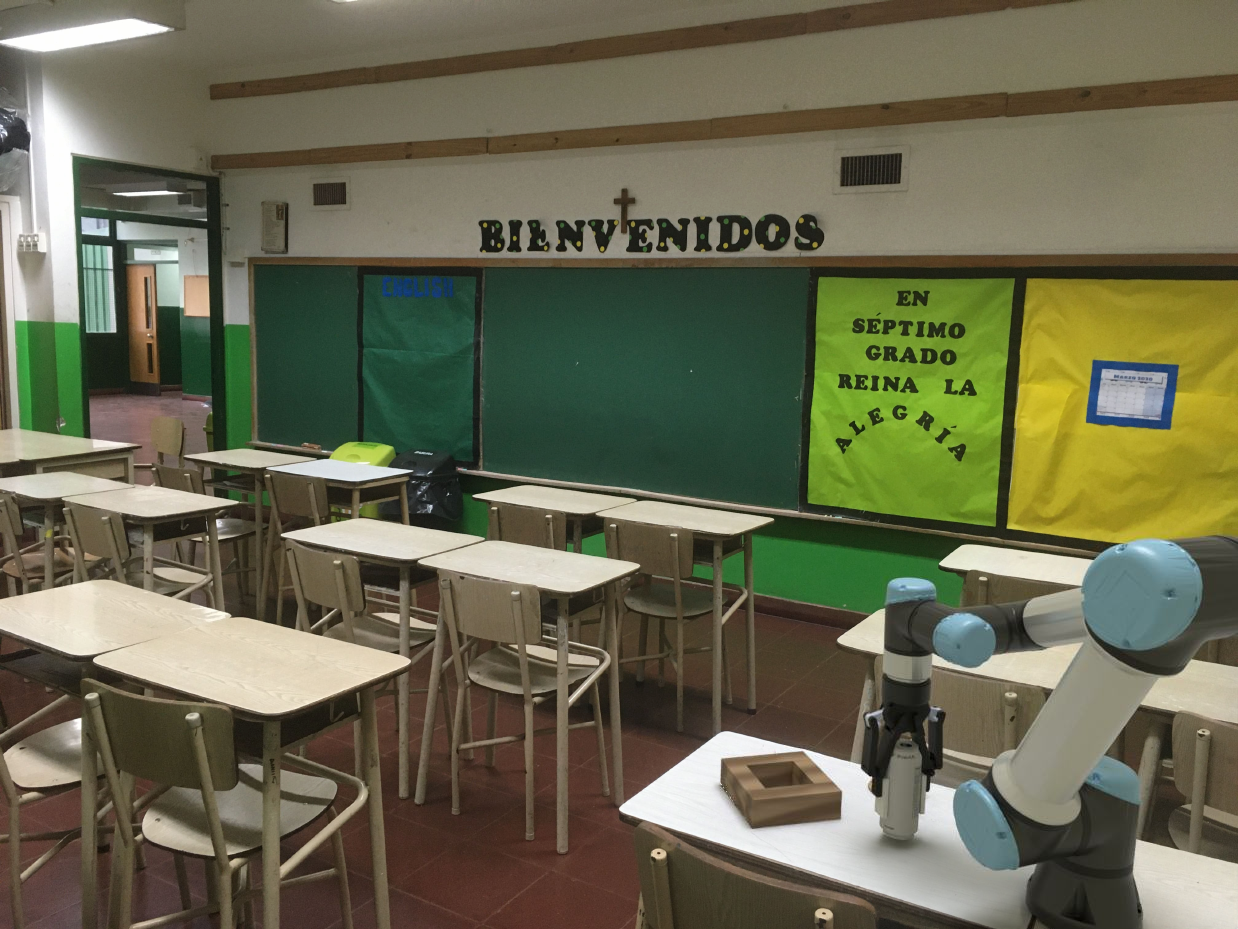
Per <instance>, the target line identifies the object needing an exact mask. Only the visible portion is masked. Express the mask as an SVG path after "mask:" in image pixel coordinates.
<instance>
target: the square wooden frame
mask: <svg viewBox="0 0 1238 929" xmlns="http://www.w3.org/2000/svg"><path fill="white" fill-rule="evenodd" d="M720 783H721V784H722V786H723V787H724V789H725V790H726V791H727V793H728V794H727V793H726V794H727V796H728V795H729V796H730V797H731V799H732V800H733V801H732V800H731V799H730V800H731V801H732V802H734V803H735V804H736V805H735V804H734V803H733V804H734V805H735V806H737V807H738V808H737V807H736V808H737V810H738V809H739V810H740V811H741V812H740V811H739V810H738V811H739V812H740V814H741V813H742V814H743V815H742V814H741V815H742V816H743V817H745V818H746V819H745V818H744V819H745V821H746V822H747V823H748V825H749V826H750V828H751V829H759V828H760V829H761V828H767V827H768V828H770V827H778V826H786V825H787V826H788V825H795V824H806V823H814V822H822V821H823V822H824V821H833V820H840V819H841V818H842V803H843V802H842V801H843V790H842V789H841V788H840V787H839V786H838V785H837V784H836V783H835V782H834V781H833V780H832V779H831V778H830V777H829V776H828V775H827V774H826V773H825V772H824V770H822V769H821V768H820V767H819V766H818V765H817V763H815V762H814V761H813V760H812V759H811V758H810V757H809V755H808V754H806V752H805V751H804V750H799V751H789V752H780V753H779V752H777V753H767V754H765V753H764V754H756V755H746V756H733V757H723V758H720ZM720 783H719V784H720ZM722 786H721V787H722ZM724 789H723V790H724ZM725 790H724V791H725ZM729 796H728V797H729ZM730 797H729V798H730Z"/></svg>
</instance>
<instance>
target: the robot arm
mask: <svg viewBox="0 0 1238 929" xmlns="http://www.w3.org/2000/svg"><path fill="white" fill-rule="evenodd" d="M937 598H938V596H937V588H936V586H935V584H934V583H933V582H932V581H930V580H927V579H923V578H918V577H917V578H916V577H899V578H894V579H892V580H890V581H889V582H888V584H887V588H886V597H885V602H884V631H883V633H884V634H883V656H882V671H883V674H882V676H881V691H880V692H881V694H880V695H881V704H880V706H879V708H878V710H876V711H873V712H871V713H870V712H868V711H865V712H864V713H863V714H862V717H863V722H864V725H865V726H864V734H863V743H862V750H861V751H862V752H861V753H862V754H861V761H860V762H861V763H860V769H861V771H863V772H864V773H865V774H866V775H867V776H868V777H870V778H871V780H872V788H871V791H872V792H871V791H870V792H871V794H872V795H873V796H874V797H875V798H874V812H875V813H876V814H878V816H879V817H880V816H881V817H882V818H883V819H885V818H887V812H888V792H889V779H888V778H886V777H885V774H886V771H887V768H888V765H889V763H890V760H891V757H892V754H893V751H894V748H895V745H896V742H897V741H898V740H899V739H900V738H901V736H902V735H904V734H905V733H909V734H910V740H912V741H914V742H915V743H916V744H918V746H919V748H918V749H919V751H920V753H921V755H922V765H921V784H920V802H919V815H921V816H922V815H925V812H926V811H925V810H926V797H927V795H926V794H927V793H929V792H930V790H931V777H935V775H936V770H937V771H940V770H942V769H943V767H944V749H943V748H944V736H943V735H944V734H943V733H944V732H943V731H944V729H943V728H944V723H945V719H946V716H947V713H946V711H944V709H943V710H942V709H941V708H940V707H938V706H937V705H934V706H931V705H930V700H931V688H932V680H931V677H932V676H933V654H934V655H935V656H937V657H939V658H941V659H942V660H944V661H946V662H947V663H951V664H952V665H956V666H959V667H962V668H967V669H975V668H979V667H981V666H982V665H983V664H985V663H986V662H988V661H989V660H990V659H991V657H992V656H998V655H1003V654H1004V655H1005V654H1016V653H1025V652H1037V651H1044V650H1047V649H1051V648H1055V647H1062V646H1068V645H1074V644H1081V646H1080V647H1079V648H1078V650H1077V653H1076V654H1075V655H1074V657H1073V658H1072V660H1071V662H1070V663H1069V665H1068V667H1067V668H1066V670H1065V671H1064V673H1063V674H1062V676H1061V678H1060V679H1059V681H1058V683H1057V684H1056V686H1055V687H1054V689H1053V691H1051V693H1050V695H1049V697H1048V699H1047V700H1046V702H1045V703H1044V705H1043V707H1042V708H1041V710H1040V711H1039V713H1038V714H1037V716H1036V718H1035V719H1034V721H1033V722H1032V723H1031V725H1030V727H1029V728H1028V730H1027V732H1026V733H1025V735H1024V737H1023V738H1022V740H1021V742H1020V743H1019V745H1018V746H1017V748H1016V749H1009V750H1005V751H1004V752H1002V753H1000V754H999V755H998V756H997V757H996V758H995V759H994V761H993V763H992V764H991V766H989V769H988V770H987V772H986V773H985V775H984V776H983V777H982V778H980V779H978V780H975V779H968V780H967V781H965V782H963V783H961V784H960V785H958V787H957V788H956V790H955V791H954V795H953V801H952V811H953V812H952V813H953V816H954V821H955V826H956V828H957V832H958V835H959V837H960V839H961V841H962V843H963V845H964V846H965V848H966V850H967V851H968V853H969V854H970V856H972V857H973V859H974V860H975V861H976V862H977V863H978V864H980V865H981V866H982V867H984V868H988V869H989V870H991V871H994V872H999V871H1007V870H1009V871H1012V870H1013V871H1017V870H1018V869H1021V868H1025V867H1028V866H1033V865H1035V869H1034V871H1033V873H1032V874H1031V875H1030V876H1029V878H1028V880H1027V882H1026V890H1025V903H1026V905H1027V908H1028V910H1029V911H1030V912H1031V914H1032V915H1033V917H1035V919H1037V920H1039V922H1040V923H1042V924H1044V925H1045V926H1046V927H1048V928H1050V929H1143V924H1144V923H1143V922H1144V909H1143V906H1142V903H1141V899H1140V895H1139V890H1138V888H1137V887H1138V886H1137V882H1136V879H1135V875H1134V865H1135V854H1136V846H1137V839H1138V838H1137V837H1138V828H1139V821H1140V820H1139V818H1140V809H1141V805H1142V800H1141V787H1142V786H1141V783H1142V782H1141V780H1140V777H1139V775H1138V774H1137V773H1136V771H1135V770H1134V769H1132V768H1131V767H1130V766H1128V765H1127V764H1125V763H1123V762H1121V761H1120V760H1117V759H1115V758H1112V757H1110V756H1107V755H1105V754H1106V753H1107V752H1108V751H1109V749H1110V747H1111V746H1112V744H1114V742H1115V741H1116V739H1117V737H1118V736H1119V735H1120V733H1121V732H1122V730H1123V729H1124V728H1125V726H1126V725H1127V724H1128V722H1129V720H1130V719H1131V718H1132V716H1133V715H1134V713H1135V712H1136V711H1137V709H1138V708H1139V707H1140V705H1141V704H1142V702H1144V700H1145V698H1146V697H1147V695H1148V694H1149V693H1150V691H1151V690H1152V688H1153V687H1154V685H1155V684H1156V683H1157V682H1158V679H1160V678H1162V679H1163V678H1173V677H1176V676H1177V675H1179V674H1181V673H1182V672H1183V671H1184V670H1185V669H1186V667H1187V665H1188V664H1189V663H1190V661H1191V660H1193V657H1194V656H1195V655H1196V654H1197V652H1198V650H1200V648H1201V647H1202V646H1203V645H1204V643H1206V642H1208V641H1212V640H1213V641H1214V640H1220V639H1227V638H1228V639H1229V638H1232V637H1238V536H1234V535H1227V534H1226V535H1225V534H1213V535H1203V536H1202V535H1201V536H1195V537H1194V536H1191V537H1184V538H1183V537H1182V538H1171V539H1170V538H1169V539H1162V538H1161V539H1160V538H1142V539H1141V538H1139V539H1136V540H1132V541H1129V542H1124V543H1119V544H1116V545H1114V546H1110V547H1109V548H1107V549H1106V550H1104V551H1103V552H1101V553H1100V554H1099V555H1098V556H1097V557H1096V558H1094V560H1093V561H1092V562H1091V563H1090V564H1089V566H1088V567H1087V570H1086V572H1085V573H1084V577H1083V579H1082V581H1081V587H1076V588H1073V589H1072V588H1071V589H1068V590H1064V591H1059V592H1054V593H1050V594H1046V595H1042V596H1038V597H1032V598H1028V599H1027V598H1026V599H1024V600H1019V601H1013V602H1006V603H1005V602H1004V603H996V604H987V605H985V604H984V605H976V606H974V605H973V606H965V607H952V606H949V605H947V604H943V603H941V602H939V601H938V600H937ZM927 718H928V720H927V741H926V737H925V736H926V733H925V732H926V731H925V728H924V723H925V721H926V719H927ZM882 720H883V722H884V723H883V727H882V723H881V721H882ZM879 727H882V735H881V737H880V728H879ZM879 738H880V741H879Z"/></svg>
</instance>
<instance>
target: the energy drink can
mask: <svg viewBox="0 0 1238 929" xmlns="http://www.w3.org/2000/svg"><path fill="white" fill-rule="evenodd" d="M918 748H919V746H918V744H916V743H915V742H914V741H912V739H907V738H902V737H900V739H899V740H898V741H897V742H896V745H895V748H894V751H893V754H892V757H891V760H890V763H889V765H888V768H887V771H886V774H885V777H886V778H888V779H889V792H888V812H887V818H885V819H883V818H882V817H881V816H880V815H879V826H880V828H881V829H882V832H883V833H884V835H886V836H887V837H889V838H891V839H895V840H900V841H904V840H905V841H906V840H910V839H912V838H914V836H915V834H916V833H918V831H919V818H920V817H919V815H920V814H919V802H920V784H921V765H922V755H921V753H920V751H919V749H918Z"/></svg>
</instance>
